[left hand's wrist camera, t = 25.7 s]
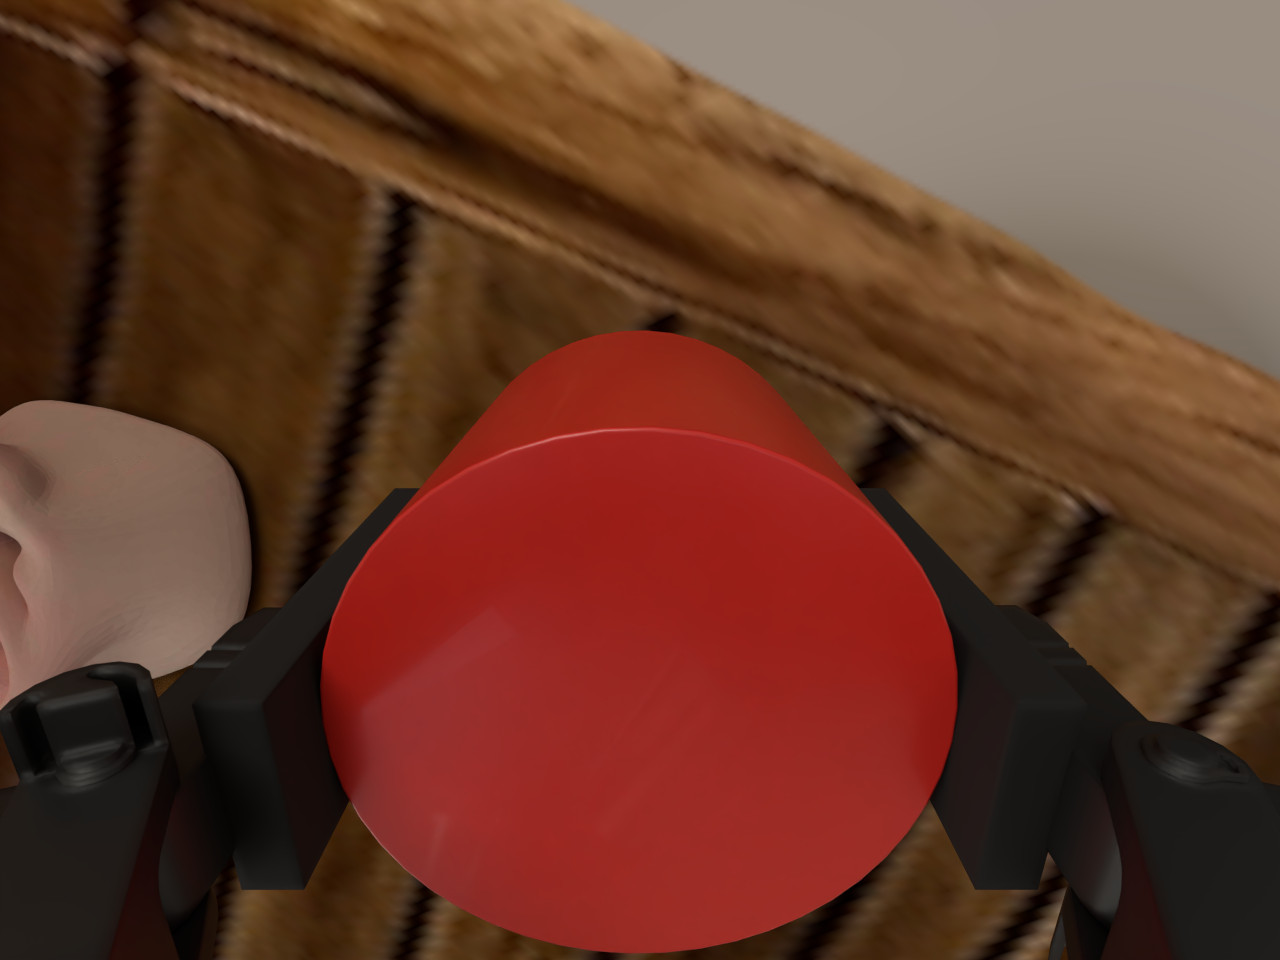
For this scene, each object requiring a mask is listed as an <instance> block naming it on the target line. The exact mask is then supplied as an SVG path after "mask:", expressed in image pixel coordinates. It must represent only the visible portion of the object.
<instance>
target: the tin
mask: <svg viewBox="0 0 1280 960" xmlns="http://www.w3.org/2000/svg"><path fill="white" fill-rule="evenodd" d="M320 695H321V710H322V722H323V727H324V732H325V736H326V741H327V745H328V749H329V754H330V757H331V760H332V762H333V765H334V767H335V770H336V772H337V775H338V777H339V780H340V783H341V785H342V788H343V789H344V791H345V793H346V795H347V796H348V798H349V800H350V802H351V803H352V805H353V807H354V809H355V810H356V812H357V814H358V816H359V817H360V819H361V820H362V821H363V823H364V824H365V825H366V826H367V828H368V829H369V830H370V832H371V833H372V834H373V836H374V837H375V838H376V840H377V841H378V842H379V843H380V845H381V846H382V847H383V848H384V849H385V850H386V851H387V852H388V853H389V854H390V855H391V856H392V857H393V858H394V859H395V860H396V861H397V862H398V863H399V864H400V865H401V866H402V867H403V868H404V869H405V870H407V871H408V872H409V873H410V874H412V875H413V876H414V877H415V878H417V879H418V880H419V881H420V882H422V883H423V884H424V885H425V886H427V887H428V888H429V889H430V890H432V891H433V892H435V893H437V894H438V895H440V896H441V897H443V898H445V899H446V900H448V901H449V902H451V903H453V904H454V905H456V906H457V907H459V908H461V909H463V910H465V911H467V912H469V913H471V914H473V915H475V916H477V917H479V918H481V919H483V920H485V921H487V922H489V923H491V924H494V925H496V926H499V927H502V928H504V929H507V930H510V931H512V932H515V933H518V934H521V935H523V936H526V937H530V938H534V939H538V940H542V941H545V942H549V943H553V944H557V945H561V946H567V947H573V948H580V949H586V950H592V951H603V952H617V953H667V952H675V951H684V950H693V949H701V948H706V947H711V946H715V945H720V944H725V943H730V942H735V941H738V940H741V939H744V938H748V937H751V936H754V935H757V934H760V933H764V932H767V931H770V930H772V929H774V928H777V927H779V926H782V925H784V924H786V923H789V922H791V921H793V920H796V919H798V918H800V917H802V916H804V915H806V914H808V913H810V912H811V911H813V910H815V909H817V908H819V907H821V906H822V905H824V904H826V903H828V902H830V901H831V900H833V899H834V898H836V897H837V896H839V895H840V894H841V893H843V892H844V891H846V890H847V889H849V888H850V887H851V886H853V885H854V884H856V883H857V882H859V881H860V880H861V879H862V878H863V877H864V876H866V875H867V874H868V873H869V872H870V871H871V870H872V869H873V868H875V867H876V866H877V865H878V864H879V863H880V862H881V861H882V860H884V859H885V858H886V857H887V856H888V854H889V853H890V852H891V851H892V850H893V849H894V848H895V847H896V845H897V844H898V843H899V842H900V841H901V840H902V839H903V837H904V836H905V835H906V834H907V833H908V832H909V830H910V829H911V827H912V826H913V824H914V823H915V821H916V820H917V818H918V817H919V815H920V814H921V812H922V811H923V809H924V808H925V806H926V805H927V803H928V801H929V799H930V797H931V795H932V793H933V791H934V789H935V787H936V785H937V783H938V781H939V779H940V777H941V775H942V772H943V769H944V766H945V763H946V760H947V756H948V753H949V750H950V747H951V744H952V740H953V734H954V728H955V721H956V715H957V708H958V671H957V665H956V659H955V653H954V647H953V641H952V635H951V632H950V629H949V626H948V623H947V620H946V617H945V614H944V611H943V608H942V606H941V603H940V600H939V598H938V596H937V594H936V592H935V590H934V589H933V587H932V585H931V583H930V581H929V579H928V577H927V575H926V574H925V572H924V570H923V568H922V566H921V565H920V563H919V562H918V561H917V559H916V558H915V557H914V555H913V554H912V553H911V551H910V550H909V549H908V547H907V546H906V545H905V544H904V542H903V541H902V540H901V538H900V537H899V536H898V534H897V533H896V532H895V531H894V529H893V528H892V527H891V526H890V525H889V524H888V522H887V521H886V520H885V519H884V518H883V516H882V515H881V514H880V513H879V512H878V511H877V509H876V508H875V507H874V506H873V505H872V504H871V502H870V501H869V500H868V499H867V498H866V496H865V495H864V494H863V493H862V492H861V491H860V489H859V488H858V487H857V486H856V485H855V483H854V482H853V481H852V480H851V479H850V478H849V476H848V475H847V474H846V473H845V472H844V470H843V469H842V468H841V467H840V466H839V465H838V463H837V462H836V461H835V460H834V459H833V457H832V456H831V455H830V454H829V453H828V452H827V450H826V449H825V448H824V447H823V446H822V444H821V443H820V442H819V441H818V440H817V439H816V437H815V436H814V435H813V434H812V433H811V431H810V430H809V429H808V428H807V427H806V426H805V424H804V423H803V422H802V421H801V420H800V418H799V417H798V416H797V415H796V414H795V413H794V411H793V410H792V409H791V408H790V407H789V405H788V404H787V403H786V402H785V401H784V400H783V398H782V397H781V396H780V395H779V394H778V392H777V391H776V390H775V389H774V388H773V387H772V386H771V385H770V384H769V383H768V382H767V381H766V380H765V379H764V378H763V377H762V376H761V375H760V374H758V373H757V372H756V371H754V370H753V369H752V368H750V367H749V366H748V365H746V364H745V363H744V362H742V361H741V360H739V359H738V358H736V357H734V356H732V355H730V354H729V353H727V352H725V351H723V350H721V349H720V348H717V347H715V346H712V345H710V344H707V343H704V342H702V341H699V340H697V339H693V338H689V337H685V336H681V335H677V334H672V333H664V332H655V331H620V332H614V333H608V334H602V335H596V336H593V337H590V338H586V339H583V340H580V341H577V342H573V343H571V344H569V345H567V346H564V347H562V348H560V349H558V350H556V351H554V352H551V353H549V354H548V355H546V356H545V357H543V358H542V359H540V360H538V361H537V362H535V363H534V364H532V365H531V366H529V367H528V368H527V369H526V370H525V371H523V372H522V373H521V374H520V375H519V376H517V377H516V378H515V379H514V380H513V381H512V382H511V383H510V384H509V385H508V386H507V387H506V388H505V389H504V391H503V392H502V393H501V394H500V395H499V396H498V397H497V398H496V400H495V401H494V402H493V403H492V404H491V406H490V407H489V408H488V409H487V410H486V411H485V413H484V414H483V415H482V416H481V417H480V418H479V420H478V421H477V422H476V423H475V424H474V426H473V427H472V428H471V429H470V430H469V431H468V433H467V434H466V435H465V436H464V437H463V438H462V440H461V441H460V442H459V443H458V444H457V446H456V447H455V448H454V449H453V450H452V451H451V453H450V454H449V455H448V456H447V457H446V458H445V460H444V461H443V462H442V463H441V464H440V466H439V467H438V468H437V469H436V470H435V471H434V473H433V474H432V475H431V476H430V477H429V479H428V480H427V481H426V482H425V483H424V484H423V486H422V487H421V488H420V489H419V490H418V491H417V493H416V494H415V495H414V496H413V497H412V499H411V500H410V501H409V502H408V503H407V504H406V506H405V507H404V508H403V509H402V510H401V511H400V513H399V514H398V515H397V516H396V517H395V519H394V520H393V521H392V522H391V523H390V524H389V526H388V527H387V528H386V529H385V530H384V532H383V533H382V534H381V535H380V536H379V537H378V539H377V540H376V541H375V542H374V543H373V544H372V546H371V547H370V548H369V549H368V551H367V552H366V554H365V556H364V557H363V559H362V560H361V562H360V563H359V565H358V566H357V568H356V569H355V571H354V573H353V574H352V576H351V577H350V579H349V580H348V582H347V584H346V586H345V589H344V591H343V593H342V596H341V598H340V600H339V602H338V605H337V607H336V609H335V611H334V614H333V616H332V620H331V624H330V627H329V631H328V635H327V639H326V643H325V647H324V651H323V660H322V671H321V682H320Z"/></svg>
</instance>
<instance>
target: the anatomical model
mask: <svg viewBox="0 0 1280 960" xmlns="http://www.w3.org/2000/svg"><path fill="white" fill-rule="evenodd" d="M251 574H252V559H251V540H250V531H249V523H248V515H247V510H246V506H245V501H244V496H243V492H242V489H241V486H240V483H239V480H238V478H237V476H236V474H235V472H234V470H233V468H232V466H231V465H230V464H229V462H228V461H227V460H226V458H225V457H224V456H223V455H222V454H221V453H220V452H219V451H218V450H216V449H215V448H214V447H212V446H211V445H209V444H208V443H206V442H205V441H203V440H201V439H199V438H197V437H195V436H193V435H190V434H187V433H185V432H182V431H180V430H177V429H175V428H172V427H169V426H166V425H163V424H160V423H156V422H153V421H150V420H146V419H143V418H140V417H136V416H133V415H130V414H126V413H123V412H119V411H115V410H111V409H107V408H102V407H96V406H89V405H83V404H76V403H70V402H63V401H53V400H39V401H32V402H27V403H24V404H21V405H19V406H17V407H15V408H13V409H11V410H9V411H8V412H6V413H5V414H3V415H2V416H1V417H0V710H1V709H2V708H3V707H4V706H5V705H6V704H7V703H8V702H9V701H10V700H11V699H13V698H14V697H16V696H18V695H19V694H21V693H22V692H24V691H26V690H27V689H29V688H30V687H32V686H34V685H35V684H38V683H40V682H42V681H45V680H47V679H49V678H52V677H54V676H56V675H59V674H61V673H63V672H67V671H70V670H74V669H78V668H81V667H85V666H88V665H92V664H99V663H108V662H117V661H121V662H130V663H138V664H140V665H142V666H143V667H145V668H146V669H148V670H149V671H150V673H151V677H152V679H153V678H156V677H160V676H163V675H166V674H169V673H171V672H174V671H177V670H180V669H183V668H185V667H187V666H190V665H192V664H194V663H195V662H196V661H197V660H198V659H199V658H200V657H201V656H202V655H203V654H204V653H205V652H206V651H207V650H211V648H212V647H211V646H212V645H213V644H214V643H215V642H216V641H217V640H218V639H219V638H220V637H221V636H222V635H223V634H224V633H225V632H227V631H228V630H229V629H230V628H231V627H232V626H233V625H234V624H236V623H238V622H240V621H241V620H243V618H244V615H245V612H246V609H247V605H248V600H249V595H250V590H251Z"/></svg>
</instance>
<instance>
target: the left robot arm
mask: <svg viewBox="0 0 1280 960" xmlns="http://www.w3.org/2000/svg"><path fill="white" fill-rule="evenodd" d="M419 489H420V488H395V489H394V490H393V491H392V492H391V493H390V494H389V495H388V496H387V497H386V499H385V500H384V501H383V502H382V503H381V504H380V505H379V506H378V507H377V508H376V509H375V510H374V511H373V512H372V513H371V514H370V516H369V517H368V518H367V519H366V520H365V521H364V522H363V523H362V524H361V525H360V526H359V527H358V528H357V529H356V530H355V531H354V532H353V534H352V535H351V536H350V537H349V538H348V539H347V540H346V541H345V542H344V543H343V544H342V545H341V546H340V547H339V548H338V549H337V551H336V552H335V553H334V554H333V555H332V556H331V557H330V558H329V559H328V560H327V561H326V562H325V563H324V564H323V565H322V566H321V567H320V569H319V570H318V571H317V572H316V573H315V574H314V575H313V576H312V577H311V578H310V579H309V580H308V581H307V582H306V583H305V584H304V585H303V587H302V588H301V589H300V590H299V591H298V592H297V593H296V594H295V595H294V596H293V597H292V598H291V599H290V600H289V601H288V602H287V604H286V605H285V606H284V607H283V608H263V609H261V610H259V611H257V612H256V613H254V614H252V615H250V616H248V617H247V618H245V619H243V620H241V621H240V622H238V623H236V624H234V625H233V626H232V627H231V628H230V629H229V630H228V631H227V632H225V633H224V634H223V635H222V636H221V637H220V638H219V639H218V640H217V641H216V642H215V643H214V644H213V645H212V646H211V647H212V648H211V650H207V651H206V652H205V653H204V654H203V655H202V656H201V657H200V658H199V659H198V660H197V661H196V662H195V663H194V666H193V668H189V669H188V670H186V671H185V672H184V673H183V674H182V675H181V676H180V677H179V678H178V679H177V680H176V681H175V682H174V683H173V684H172V685H171V686H170V687H169V688H168V689H167V690H166V691H165V692H164V693H163V694H162V695H161V696H160V697H159V698H158V697H157V694H156V690H155V687H154V684H153V680H152V677H151V673H150V671H149V670H148V669H146V668H145V667H143V666H142V665H140V664H138V663H130V662H121V661H117V662H108V663H99V664H92V665H88V666H85V667H81V668H78V669H74V670H70V671H67V672H63V673H61V674H59V675H56V676H54V677H52V678H49V679H47V680H45V681H42V682H40V683H38V684H35V685H34V686H32V687H30V688H29V689H27V690H26V691H24V692H22V693H21V694H19V695H18V696H16V697H14V698H13V699H11V700H10V701H9V702H8V703H7V704H6V705H5V706H4V707H3V708H2V709H1V710H0V731H1V733H2V736H3V738H4V741H5V743H6V746H7V749H8V751H9V754H10V756H11V759H12V761H13V764H14V766H15V769H16V771H17V774H18V776H19V779H20V782H19V784H18V786H13V787H8V788H4V789H0V960H212V957H213V950H214V943H215V935H216V928H217V921H218V908H217V901H216V896H215V893H214V889H213V886H212V884H213V883H214V881H215V880H216V878H217V877H218V875H219V874H220V872H221V871H222V869H223V868H224V866H225V864H226V863H227V861H228V860H229V858H230V857H231V855H233V859H234V863H235V866H236V870H237V874H238V878H239V881H240V885H241V889H242V890H304V889H305V887H306V885H307V883H308V881H309V879H310V877H311V875H312V873H313V871H314V869H315V867H316V865H317V863H318V861H319V859H320V857H321V855H322V853H323V851H324V849H325V847H326V845H327V844H328V842H329V840H330V838H331V836H332V834H333V832H334V830H335V828H336V826H337V824H338V822H339V820H340V818H341V816H342V814H343V812H344V810H345V808H346V806H347V804H348V802H349V798H348V796H347V795H346V793H345V791H344V789H343V788H342V785H341V783H340V780H339V777H338V775H337V772H336V770H335V767H334V765H333V762H332V760H331V757H330V754H329V749H328V745H327V741H326V736H325V732H324V727H323V722H322V710H321V695H320V682H321V671H322V660H323V651H324V647H325V643H326V639H327V635H328V631H329V627H330V624H331V620H332V616H333V614H334V611H335V609H336V607H337V605H338V602H339V600H340V598H341V596H342V593H343V591H344V589H345V586H346V584H347V582H348V580H349V579H350V577H351V576H352V574H353V573H354V571H355V569H356V568H357V566H358V565H359V563H360V562H361V560H362V559H363V557H364V556H365V554H366V552H367V551H368V549H369V548H370V547H371V546H372V544H373V543H374V542H375V541H376V540H377V539H378V537H379V536H380V535H381V534H382V533H383V532H384V530H385V529H386V528H387V527H388V526H389V524H390V523H391V522H392V521H393V520H394V519H395V517H396V516H397V515H398V514H399V513H400V511H401V510H402V509H403V508H404V507H405V506H406V504H407V503H408V502H409V501H410V500H411V499H412V497H413V496H414V495H415V494H416V493H417V491H418V490H419ZM859 489H860V491H861V492H862V493H863V494H864V495H865V496H866V498H867V499H868V500H869V501H870V502H871V504H872V505H873V506H874V507H875V508H876V509H877V511H878V512H879V513H880V514H881V515H882V516H883V518H884V519H885V520H886V521H887V522H888V524H889V525H890V526H891V527H892V528H893V529H894V531H895V532H896V533H897V534H898V536H899V537H900V538H901V540H902V541H903V542H904V544H905V545H906V546H907V547H908V549H909V550H910V551H911V553H912V554H913V555H914V557H915V558H916V559H917V561H918V562H919V563H920V565H921V566H922V568H923V570H924V572H925V574H926V575H927V577H928V579H929V581H930V583H931V585H932V587H933V589H934V590H935V592H936V594H937V596H938V598H939V600H940V603H941V606H942V608H943V611H944V614H945V617H946V620H947V623H948V626H949V629H950V632H951V635H952V641H953V647H954V653H955V659H956V665H957V671H958V708H957V715H956V721H955V728H954V734H953V740H952V744H951V747H950V750H949V753H948V756H947V760H946V763H945V766H944V769H943V772H942V775H941V777H940V779H939V781H938V783H937V785H936V787H935V789H934V791H933V793H932V795H931V797H930V801H931V803H932V805H933V807H934V809H935V811H936V813H937V815H938V817H939V819H940V821H941V823H942V825H943V827H944V829H945V831H946V833H947V835H948V837H949V839H950V840H951V842H952V844H953V846H954V848H955V850H956V852H957V854H958V856H959V858H960V860H961V862H962V864H963V866H964V868H965V870H966V872H967V874H968V876H969V878H970V880H971V882H972V884H973V886H974V888H975V890H1038V887H1039V883H1040V879H1041V876H1042V872H1043V868H1044V864H1045V861H1046V857H1047V853H1048V852H1049V854H1050V855H1051V857H1052V858H1053V860H1054V861H1055V863H1056V865H1057V866H1058V868H1059V869H1060V871H1061V872H1062V874H1063V875H1064V877H1065V878H1066V880H1067V881H1068V886H1067V889H1066V893H1065V896H1064V900H1063V903H1062V907H1061V910H1060V913H1059V917H1058V920H1057V924H1056V927H1055V931H1054V934H1053V937H1052V941H1051V945H1050V952H1049V958H1048V960H1060V959H1061V955H1062V952H1063V949H1064V947H1065V946H1066V948H1067V955H1068V960H1280V786H1278V785H1273V784H1268V783H1264V782H1261V781H1260V779H1259V778H1258V777H1257V775H1256V774H1255V773H1254V772H1253V771H1252V769H1251V768H1250V767H1249V766H1248V765H1247V763H1246V762H1245V761H1243V760H1242V759H1240V758H1239V757H1238V756H1236V755H1235V754H1234V753H1232V752H1231V751H1229V750H1228V749H1227V748H1225V747H1224V746H1223V745H1220V744H1218V743H1216V742H1214V741H1212V740H1210V739H1208V738H1206V737H1204V736H1202V735H1200V734H1198V733H1196V732H1193V731H1190V730H1187V729H1184V728H1181V727H1178V726H1175V725H1171V724H1168V723H1161V722H1153V721H1148V720H1147V719H1146V718H1145V717H1144V716H1143V715H1142V714H1141V713H1140V712H1139V711H1138V710H1137V709H1136V708H1135V707H1134V706H1133V705H1132V704H1130V703H1129V702H1128V701H1127V700H1126V699H1125V698H1124V697H1123V696H1122V695H1121V694H1120V693H1119V692H1118V691H1117V690H1116V689H1115V688H1114V687H1113V686H1112V685H1111V684H1110V683H1109V682H1108V681H1107V680H1106V679H1105V678H1104V677H1103V676H1102V675H1101V674H1099V673H1098V672H1097V671H1096V670H1095V669H1094V668H1093V667H1092V666H1091V665H1087V663H1086V660H1085V659H1084V658H1083V657H1082V656H1081V655H1080V654H1079V653H1078V652H1077V651H1076V650H1075V649H1074V648H1069V644H1068V643H1067V642H1066V641H1065V640H1064V639H1063V638H1062V637H1061V636H1060V635H1059V634H1058V633H1057V632H1056V631H1055V630H1054V629H1053V628H1052V627H1051V626H1050V625H1049V624H1048V623H1046V622H1045V621H1043V620H1041V619H1039V618H1038V617H1036V616H1034V615H1032V614H1030V613H1029V612H1027V611H1025V610H1023V609H1022V608H1020V607H1018V606H1016V605H994V604H993V603H992V602H991V601H990V600H989V599H988V598H987V597H986V596H985V595H984V593H983V592H982V591H981V590H980V589H979V588H978V587H977V586H976V585H975V584H974V583H973V582H972V581H971V580H970V579H969V578H968V576H967V575H966V574H965V573H964V572H963V571H962V570H961V569H960V568H959V567H958V566H957V565H956V564H955V563H954V562H953V561H952V560H951V558H950V557H949V556H948V555H947V554H946V553H945V552H944V551H943V550H942V549H941V548H940V547H939V546H938V545H937V544H936V543H935V541H934V540H933V539H932V538H931V537H930V536H929V535H928V534H927V533H926V532H925V531H924V530H923V529H922V528H921V527H920V526H919V525H918V523H917V522H916V521H915V520H914V519H913V518H912V517H911V516H910V515H909V514H908V513H907V512H906V511H905V510H904V509H903V508H902V506H901V505H900V504H899V503H898V502H897V501H896V500H895V499H894V498H893V497H892V496H891V495H890V494H889V493H888V492H887V491H886V490H885V488H859Z"/></svg>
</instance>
